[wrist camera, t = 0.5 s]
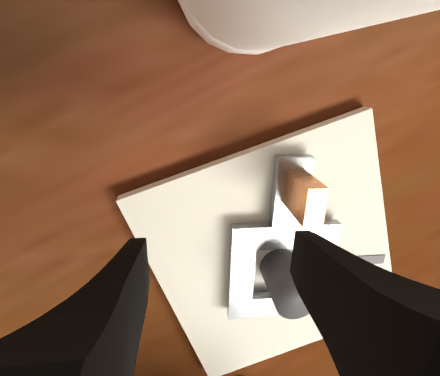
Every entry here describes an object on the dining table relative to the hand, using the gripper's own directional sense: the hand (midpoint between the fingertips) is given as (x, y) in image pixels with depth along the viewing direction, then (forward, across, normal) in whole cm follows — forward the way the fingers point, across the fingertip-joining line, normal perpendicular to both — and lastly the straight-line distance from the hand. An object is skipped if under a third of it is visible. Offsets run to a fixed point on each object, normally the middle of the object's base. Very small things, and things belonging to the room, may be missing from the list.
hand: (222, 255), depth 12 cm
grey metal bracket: (+8, -6, +4) cm, 11 cm away
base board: (+9, -6, +7) cm, 13 cm away
